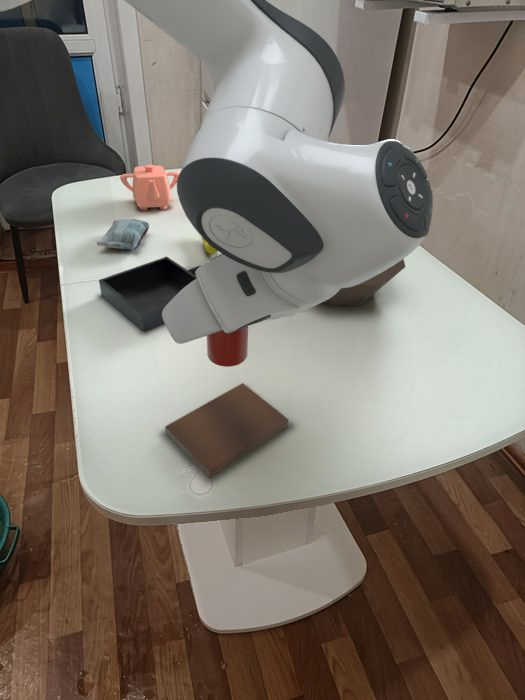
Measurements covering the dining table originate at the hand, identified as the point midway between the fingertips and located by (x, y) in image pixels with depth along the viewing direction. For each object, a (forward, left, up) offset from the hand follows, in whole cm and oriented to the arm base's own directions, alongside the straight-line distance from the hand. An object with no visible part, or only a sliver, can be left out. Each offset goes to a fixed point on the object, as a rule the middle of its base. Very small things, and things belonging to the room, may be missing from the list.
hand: (223, 309), depth 60 cm
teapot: (+35, +73, -20) cm, 84 cm away
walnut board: (0, -1, -20) cm, 20 cm away
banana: (+32, +45, -20) cm, 59 cm away
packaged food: (+18, +58, -20) cm, 64 cm away
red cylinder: (0, -1, -6) cm, 6 cm away
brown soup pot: (+42, +15, -20) cm, 49 cm away
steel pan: (+15, +34, -20) cm, 43 cm away
